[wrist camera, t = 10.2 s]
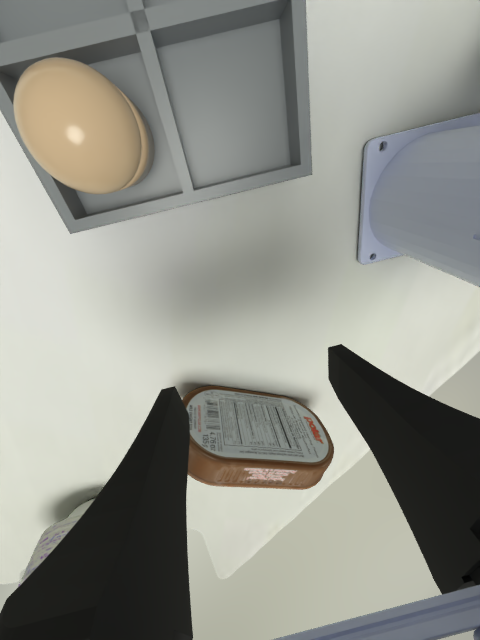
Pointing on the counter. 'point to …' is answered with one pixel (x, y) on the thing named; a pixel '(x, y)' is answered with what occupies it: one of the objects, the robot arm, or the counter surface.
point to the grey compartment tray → (177, 92)
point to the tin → (254, 440)
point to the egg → (82, 127)
